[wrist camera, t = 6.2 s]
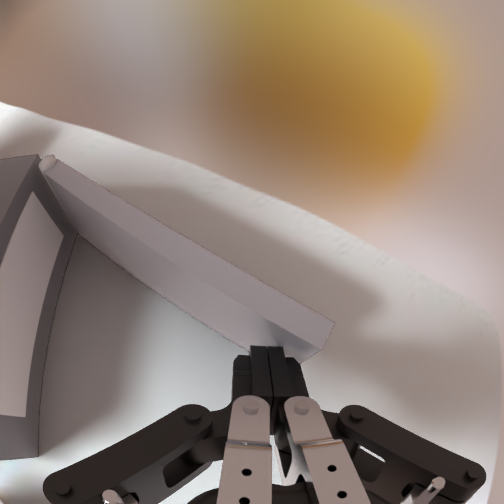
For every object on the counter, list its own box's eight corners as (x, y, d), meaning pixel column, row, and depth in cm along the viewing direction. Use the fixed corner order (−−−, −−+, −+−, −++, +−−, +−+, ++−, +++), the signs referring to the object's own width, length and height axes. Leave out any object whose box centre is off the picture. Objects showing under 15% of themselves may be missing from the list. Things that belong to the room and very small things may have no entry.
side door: (294, 356, 17) (336, 321, 11) (285, 373, 17) (323, 348, 10) (87, 222, 21) (49, 152, 14) (77, 233, 20) (35, 165, 14)
